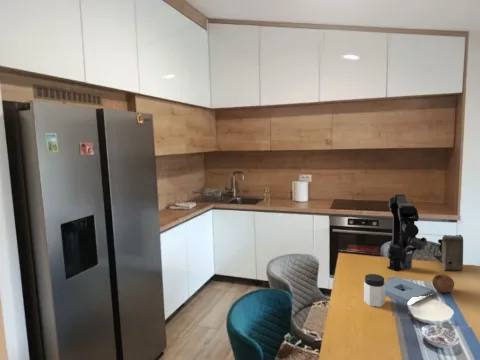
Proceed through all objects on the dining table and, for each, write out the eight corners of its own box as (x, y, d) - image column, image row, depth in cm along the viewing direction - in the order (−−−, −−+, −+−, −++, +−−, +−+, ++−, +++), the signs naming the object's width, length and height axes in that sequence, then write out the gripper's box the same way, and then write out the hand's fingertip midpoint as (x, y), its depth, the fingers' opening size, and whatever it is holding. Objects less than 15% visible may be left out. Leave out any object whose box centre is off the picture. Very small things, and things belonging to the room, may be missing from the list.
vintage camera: (449, 262, 198) (449, 228, 197) (463, 271, 183) (463, 235, 181) (431, 262, 199) (431, 229, 198) (444, 271, 184) (444, 236, 182)
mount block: (397, 281, 174) (397, 277, 174) (432, 294, 159) (432, 289, 159) (375, 291, 165) (375, 286, 164) (410, 305, 149) (410, 300, 149)
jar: (364, 305, 151) (364, 280, 150) (363, 297, 159) (363, 273, 157) (385, 308, 148) (386, 282, 147) (384, 299, 156) (384, 274, 155)
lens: (404, 265, 167) (404, 247, 166) (414, 267, 163) (414, 249, 162) (398, 267, 165) (398, 249, 164) (408, 270, 160) (408, 251, 160)
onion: (436, 298, 161) (428, 282, 159) (436, 286, 168) (428, 270, 167) (458, 296, 156) (450, 279, 154) (456, 283, 163) (449, 267, 161)
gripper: (411, 238, 150) (411, 271, 152) (434, 231, 160) (433, 263, 162) (389, 233, 160) (388, 264, 161) (411, 226, 170) (411, 257, 171)
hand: (406, 262), depth 164 cm, fingers closed on lens, 5 cm apart
